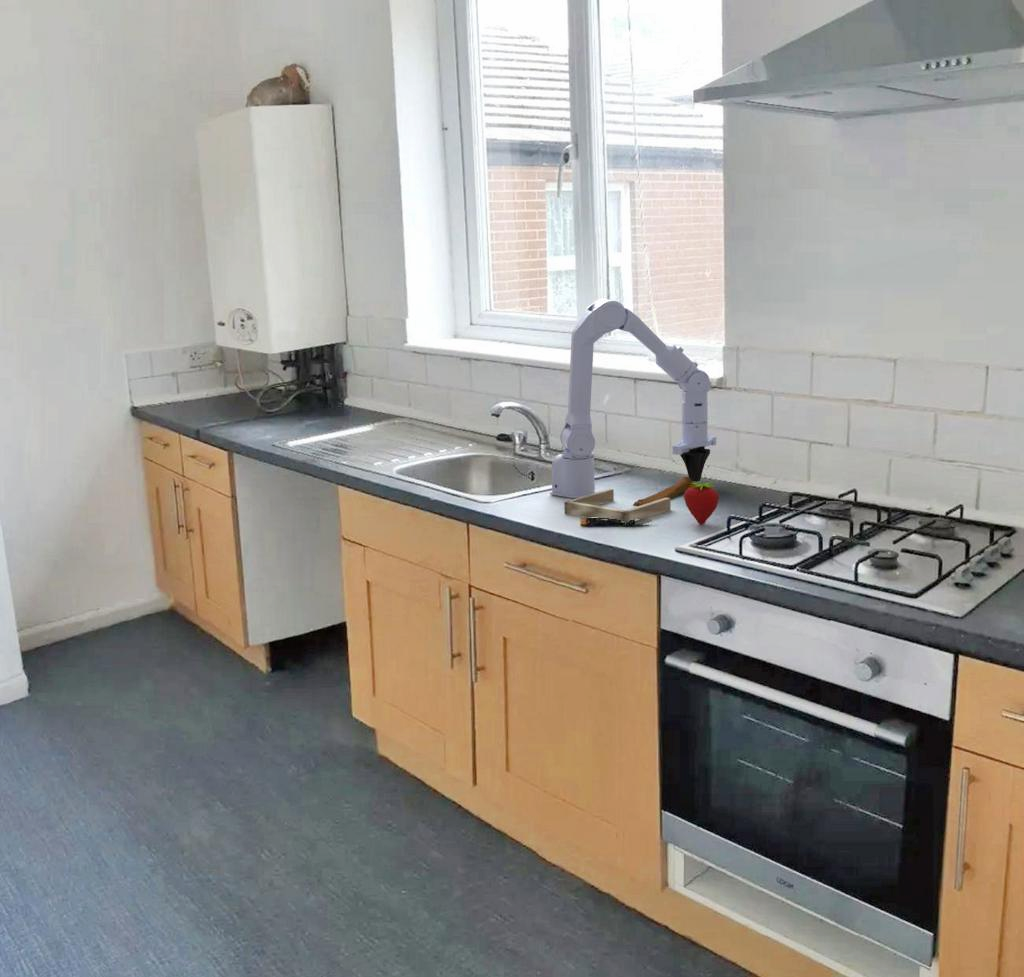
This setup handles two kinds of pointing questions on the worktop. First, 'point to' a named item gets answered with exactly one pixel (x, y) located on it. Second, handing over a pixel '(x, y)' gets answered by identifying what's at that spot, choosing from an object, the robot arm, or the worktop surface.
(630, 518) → the box
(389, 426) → the worktop surface
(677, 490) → the primitive tool
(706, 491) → the strawberry
